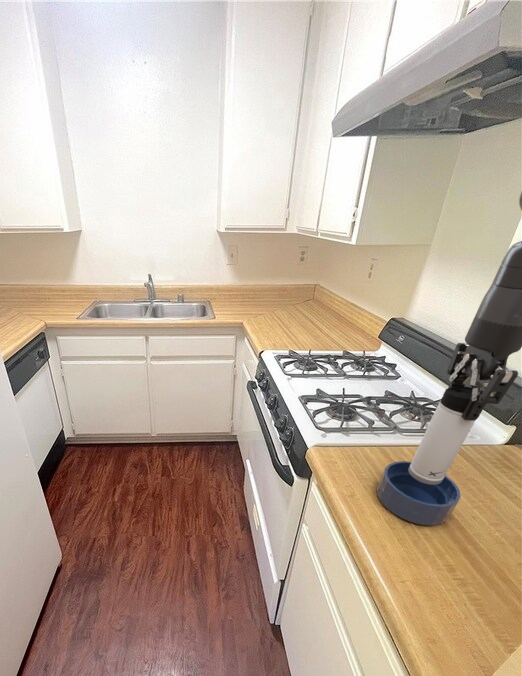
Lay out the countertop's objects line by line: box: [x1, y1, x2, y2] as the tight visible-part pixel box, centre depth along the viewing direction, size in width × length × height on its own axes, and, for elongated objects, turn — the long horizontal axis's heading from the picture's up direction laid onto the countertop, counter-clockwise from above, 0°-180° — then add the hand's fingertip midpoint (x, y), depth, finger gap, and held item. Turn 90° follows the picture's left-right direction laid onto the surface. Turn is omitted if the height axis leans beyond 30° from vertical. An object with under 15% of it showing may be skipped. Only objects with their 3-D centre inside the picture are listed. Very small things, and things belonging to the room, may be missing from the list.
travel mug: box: [408, 386, 484, 485], centre depth 66 cm, size 6×7×20 cm
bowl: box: [376, 460, 462, 526], centre depth 75 cm, size 14×14×6 cm
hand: (458, 409), depth 63 cm, fingers closed on travel mug, 6 cm apart
